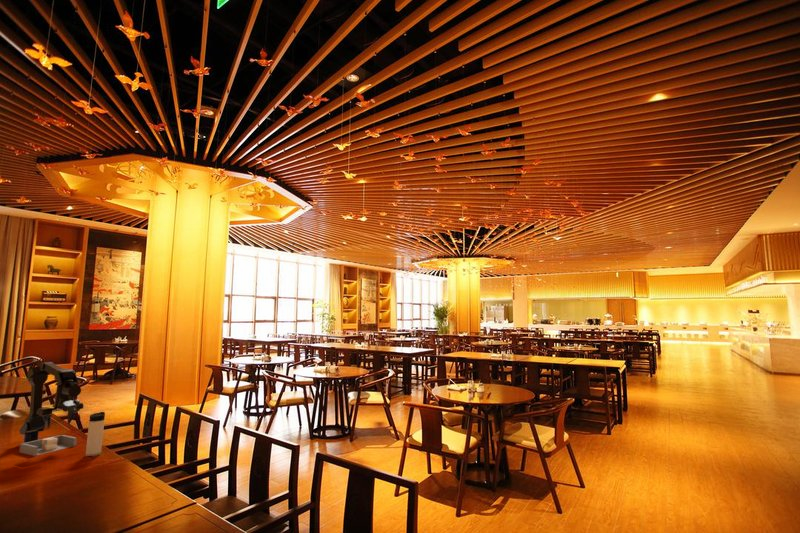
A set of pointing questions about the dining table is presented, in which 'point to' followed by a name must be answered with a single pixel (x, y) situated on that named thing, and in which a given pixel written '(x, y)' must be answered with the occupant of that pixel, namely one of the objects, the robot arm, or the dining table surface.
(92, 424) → the travel mug
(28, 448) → the slate box
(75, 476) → the dining table surface
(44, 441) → the birch block
